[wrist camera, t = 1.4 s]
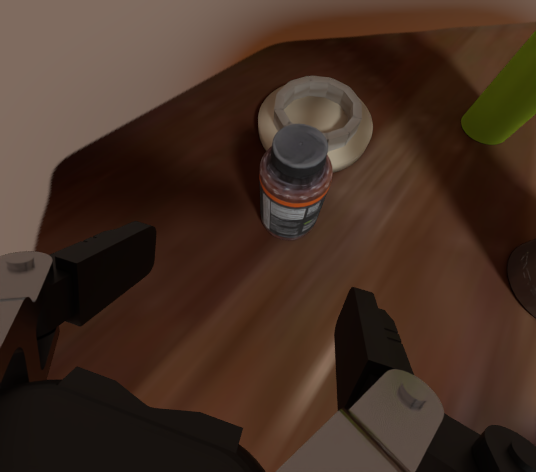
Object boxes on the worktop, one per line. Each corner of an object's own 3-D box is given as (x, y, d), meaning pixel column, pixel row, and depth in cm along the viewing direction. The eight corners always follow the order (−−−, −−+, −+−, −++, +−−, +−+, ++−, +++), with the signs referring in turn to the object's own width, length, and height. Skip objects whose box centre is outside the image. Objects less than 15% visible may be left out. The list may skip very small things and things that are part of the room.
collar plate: (367, 96, 37) (377, 71, 33) (369, 180, 31) (381, 161, 28) (265, 85, 37) (266, 60, 34) (250, 167, 32) (249, 146, 28)
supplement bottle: (275, 185, 31) (281, 101, 20) (323, 206, 30) (355, 129, 19) (250, 227, 28) (243, 157, 18) (301, 251, 27) (324, 191, 17)
